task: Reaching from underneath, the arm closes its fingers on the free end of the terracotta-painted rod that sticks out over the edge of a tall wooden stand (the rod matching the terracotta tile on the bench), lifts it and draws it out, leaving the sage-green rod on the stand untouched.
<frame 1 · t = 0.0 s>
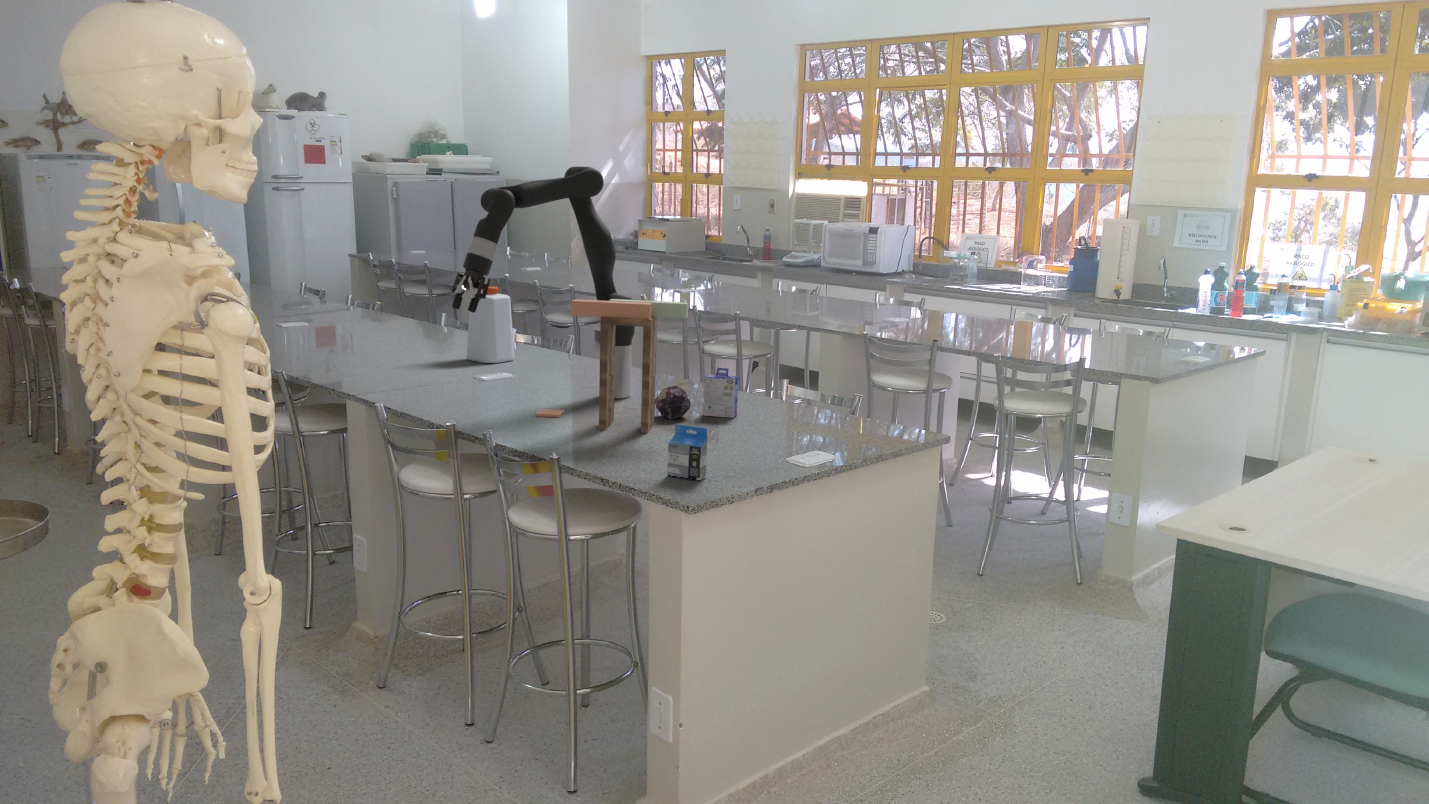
hand: (463, 310, 294), 31 cm above the countertop, tool tilted 20°, fingers open, 8 cm apart
ink cartridge box: (720, 416, 317), on the countertop
plastic bottle: (490, 360, 397), on the countertop
wooden stand: (626, 426, 298), on the countertop
terracotta rod: (611, 316, 289), point 32 cm above the countertop, touching wooden stand
mineral specimen: (672, 417, 312), on the countertop
sage rod: (648, 315, 293), point 32 cm above the countertop, touching wooden stand
label tape box: (686, 477, 249), on the countertop
prompt tile: (550, 414, 309), on the countertop
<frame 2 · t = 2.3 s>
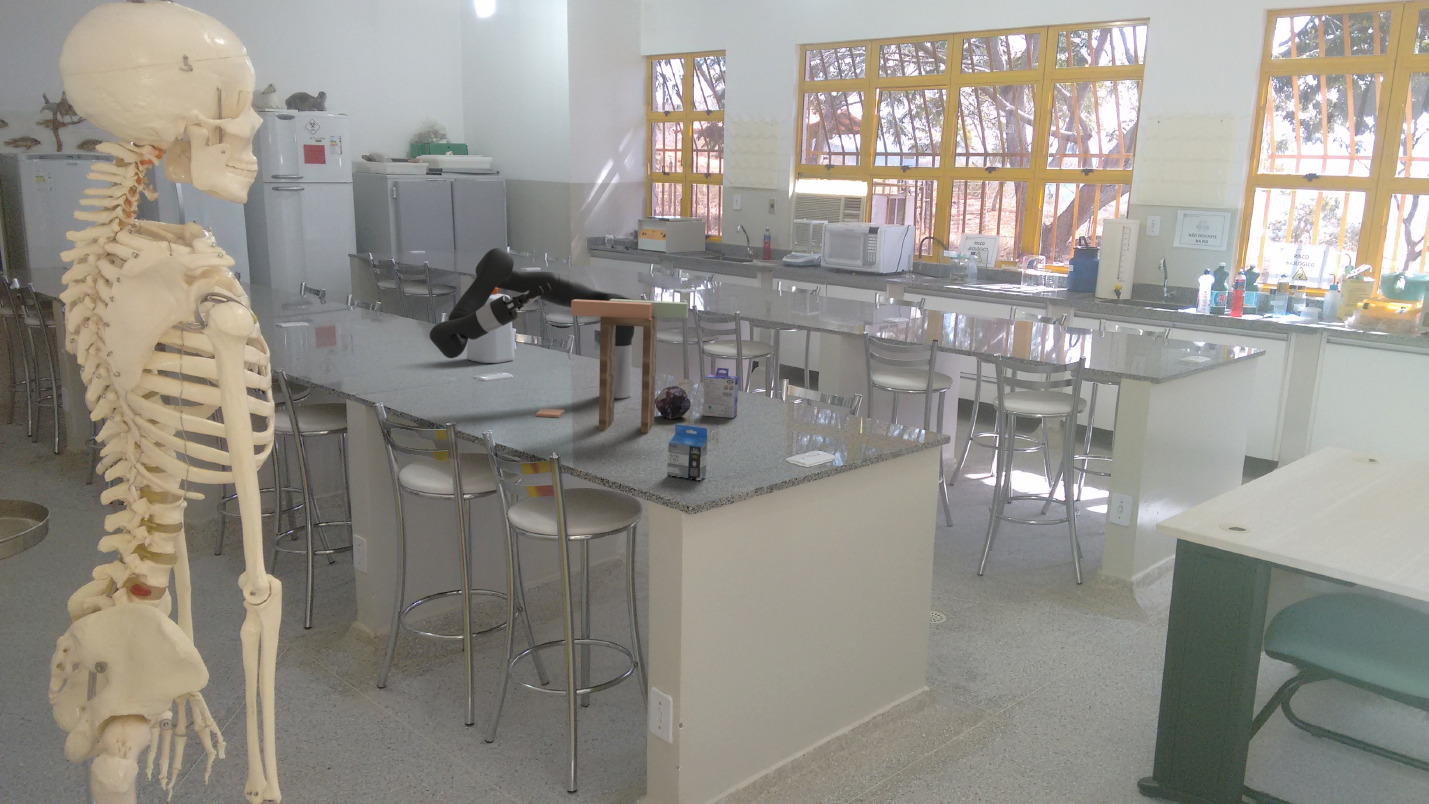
hand: (545, 287, 289), 39 cm above the countertop, tool pointing upward, fingers open, 8 cm apart
nothing on the countertop moved.
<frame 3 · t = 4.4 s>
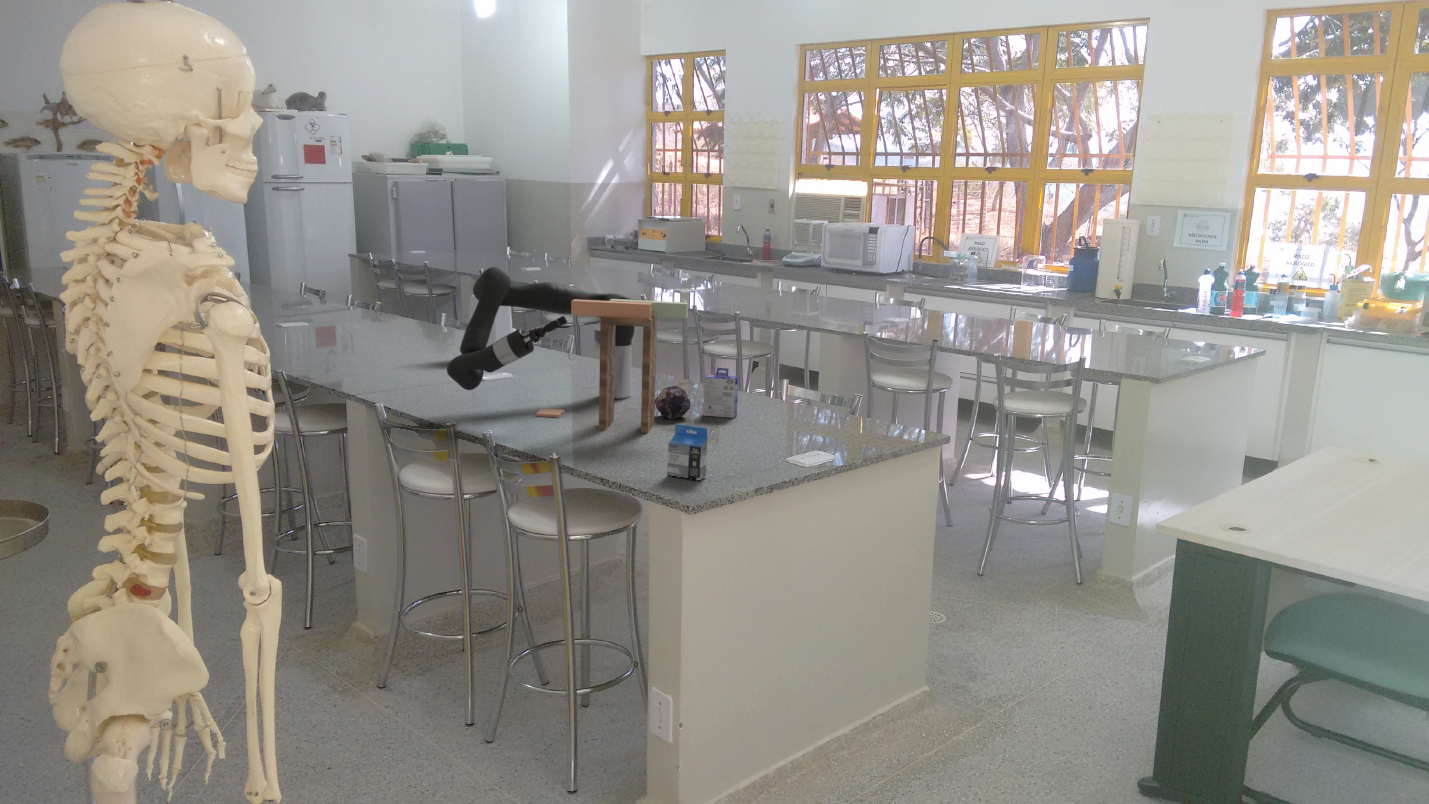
hand: (561, 320, 290), 30 cm above the countertop, tool pointing upward, fingers open, 8 cm apart
nothing on the countertop moved.
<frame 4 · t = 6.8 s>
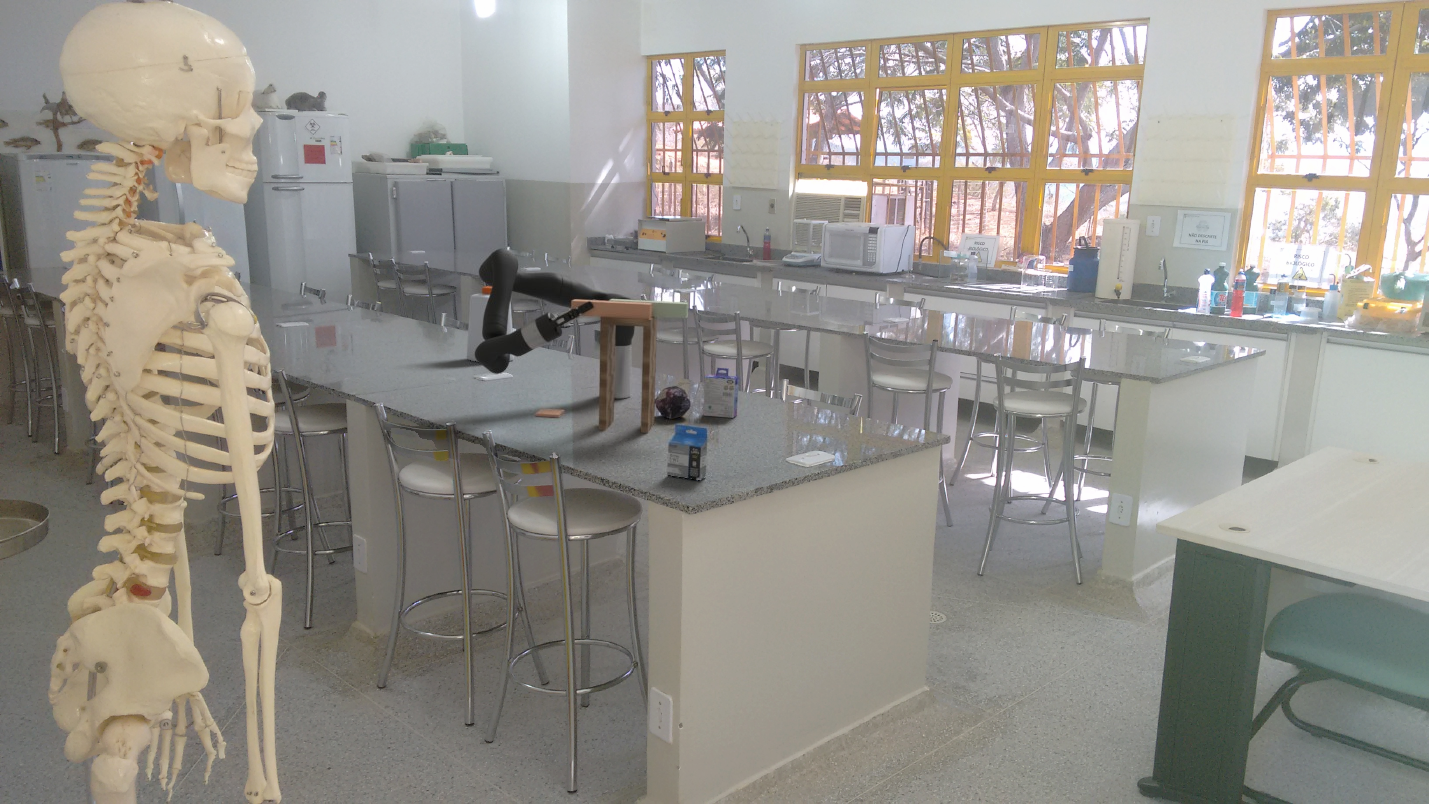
hand: (593, 303, 288), 35 cm above the countertop, tool pointing upward, fingers closed on terracotta rod, 4 cm apart
terracotta rod: (611, 316, 289), point 32 cm above the countertop, touching gripper, wooden stand
everything else where it was.
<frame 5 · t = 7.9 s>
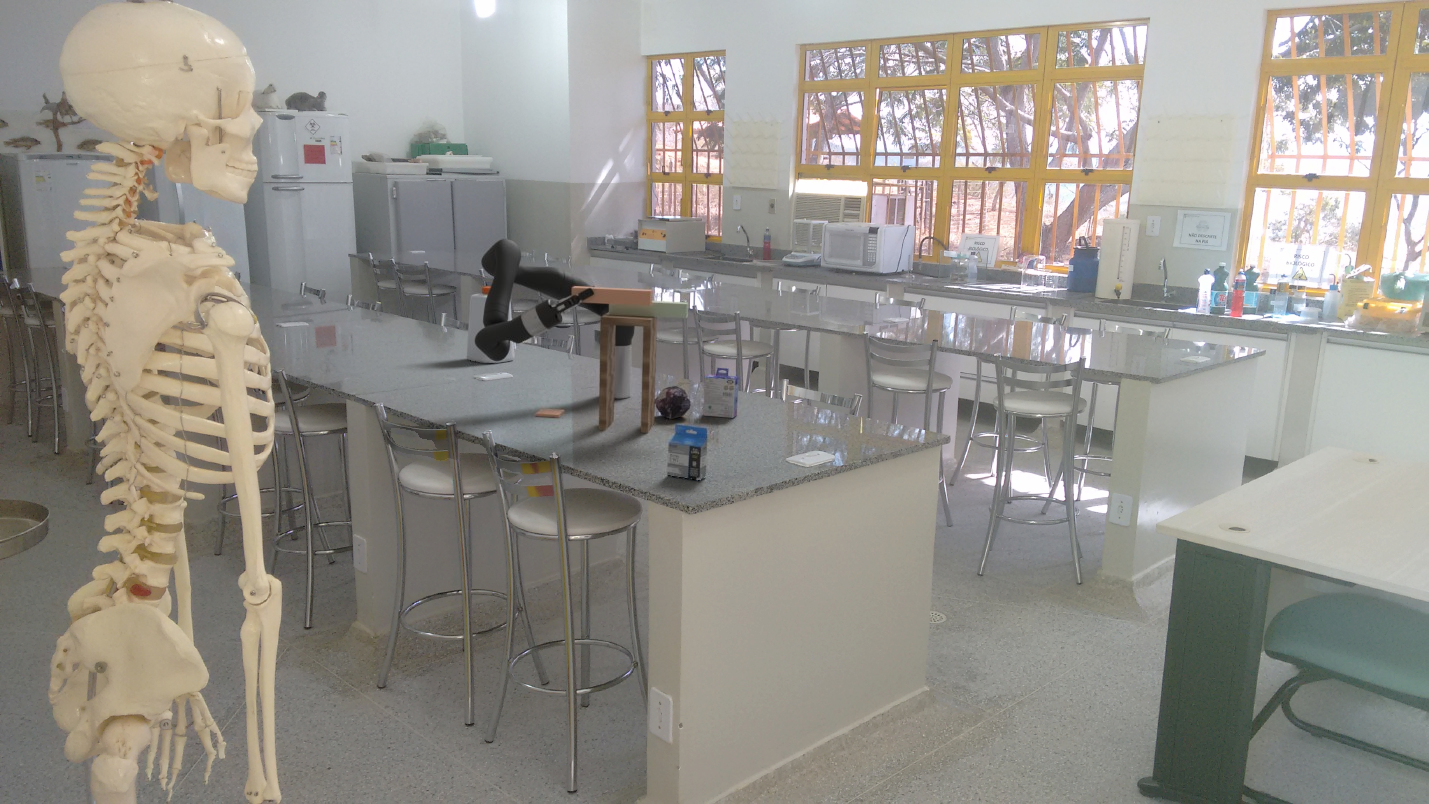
hand: (594, 290, 288), 39 cm above the countertop, tool pointing upward, fingers closed on terracotta rod, 4 cm apart
terracotta rod: (612, 303, 288), point 36 cm above the countertop, touching gripper
everything else where it was.
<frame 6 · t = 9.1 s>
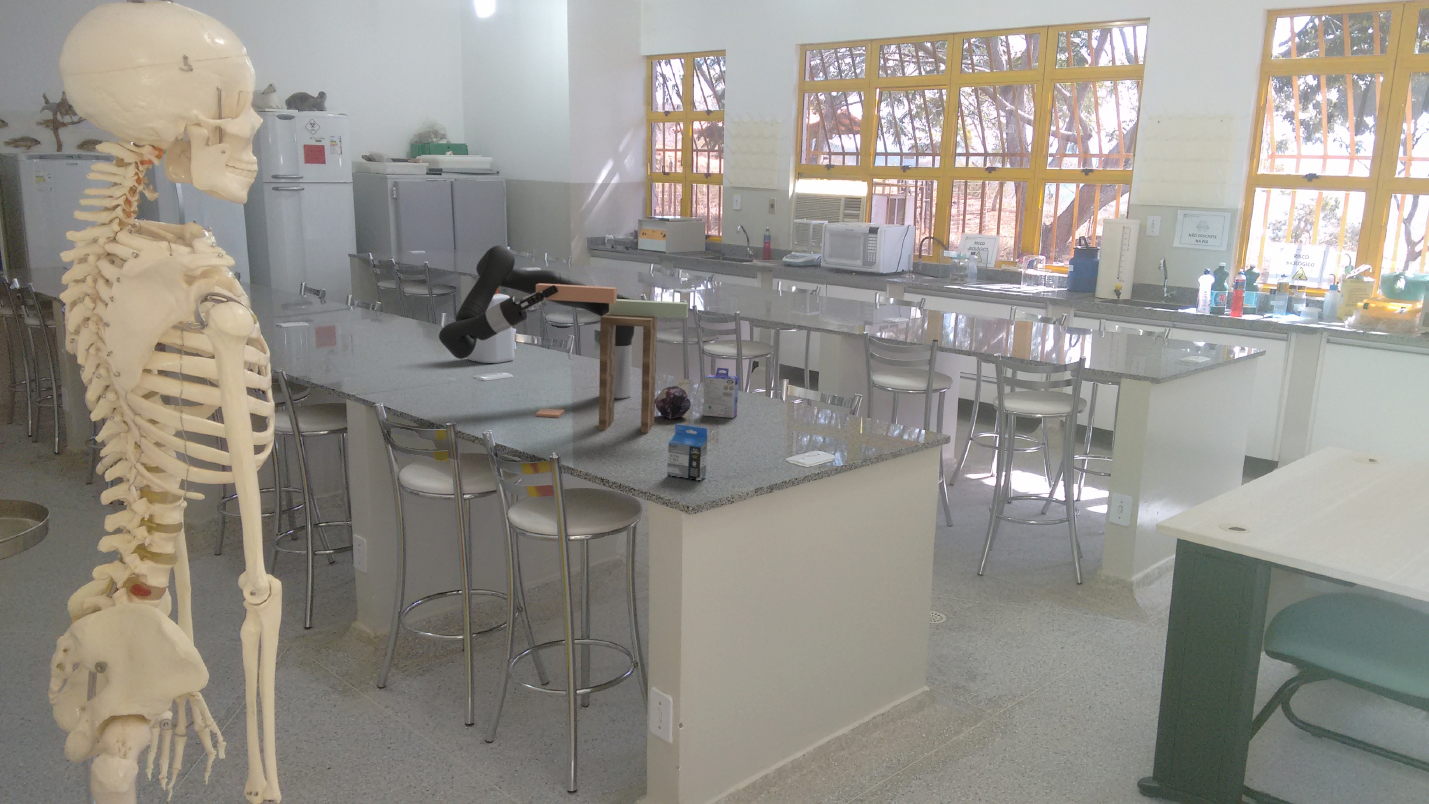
hand: (558, 287, 288), 39 cm above the countertop, tool pointing upward, fingers closed on terracotta rod, 4 cm apart
terracotta rod: (576, 300, 289), point 36 cm above the countertop, touching gripper
everything else where it was.
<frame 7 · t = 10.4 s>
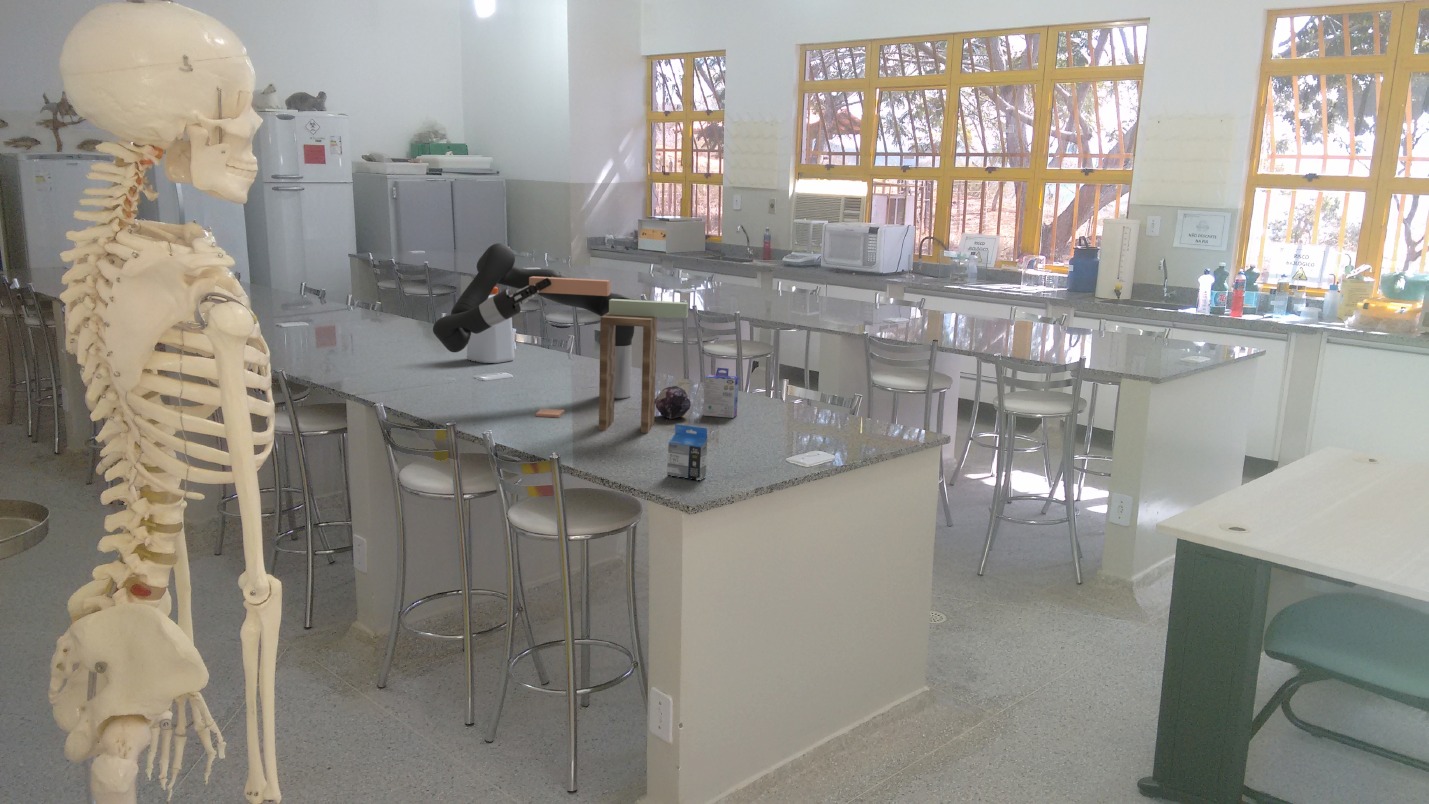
hand: (551, 280, 288), 41 cm above the countertop, tool pointing upward, fingers closed on terracotta rod, 4 cm apart
terracotta rod: (569, 293, 288), point 38 cm above the countertop, touching gripper
everything else where it was.
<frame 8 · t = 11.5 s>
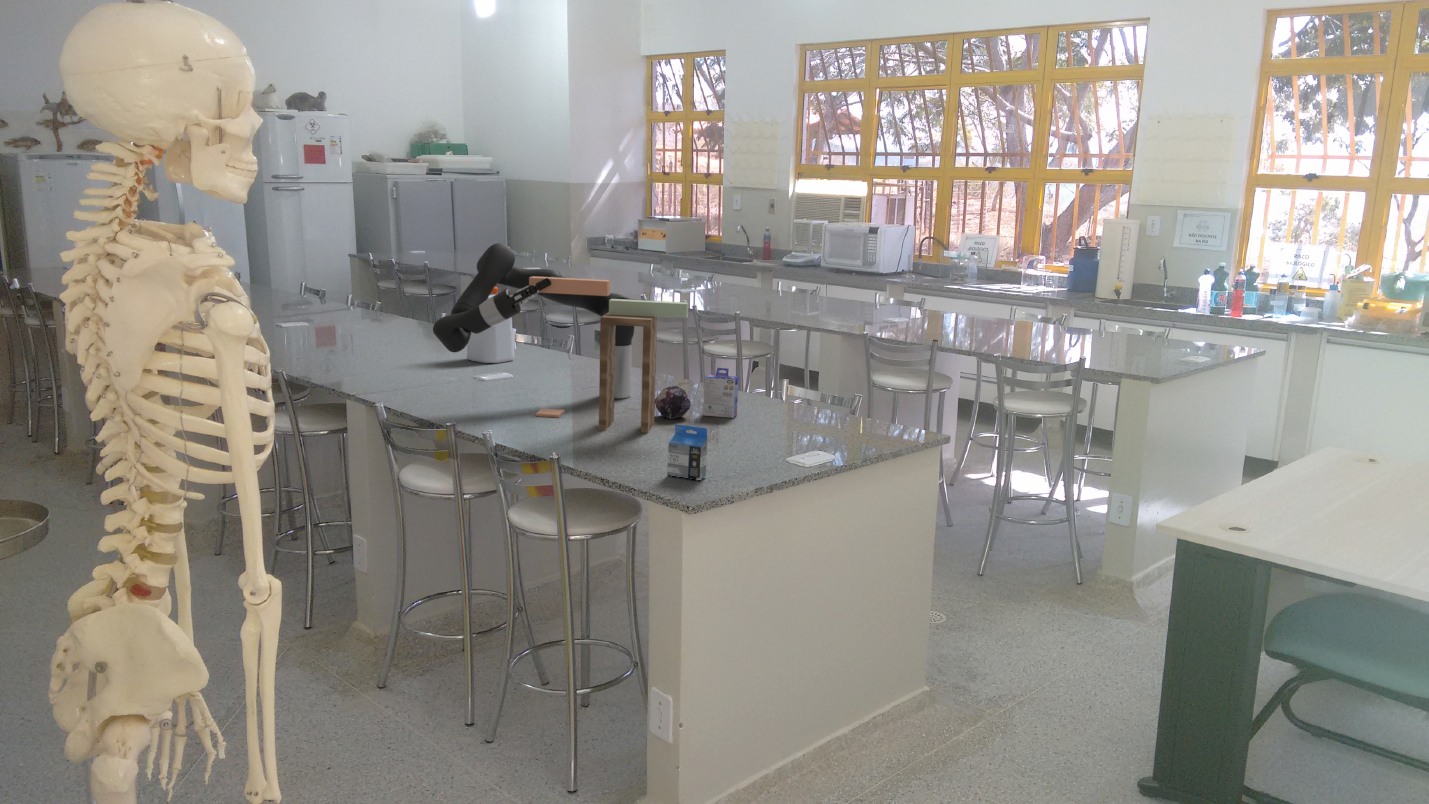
hand: (551, 280, 288), 41 cm above the countertop, tool pointing upward, fingers closed on terracotta rod, 4 cm apart
terracotta rod: (569, 293, 288), point 38 cm above the countertop, touching gripper
everything else where it was.
at the end: terracotta rod moved 13.3 cm from its start; terracotta rod point 37.8 cm above the countertop; sage rod moved 0.0 cm from its start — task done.
